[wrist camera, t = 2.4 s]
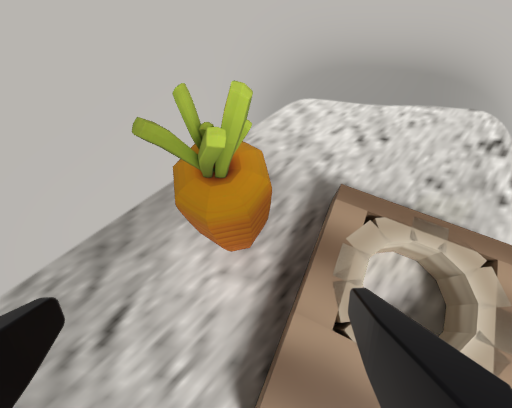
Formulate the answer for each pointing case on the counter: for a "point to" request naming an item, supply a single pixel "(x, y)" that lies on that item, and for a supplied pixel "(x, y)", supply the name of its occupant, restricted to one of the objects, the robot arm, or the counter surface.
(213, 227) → the carrot
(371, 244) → the hole board
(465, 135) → the counter surface
